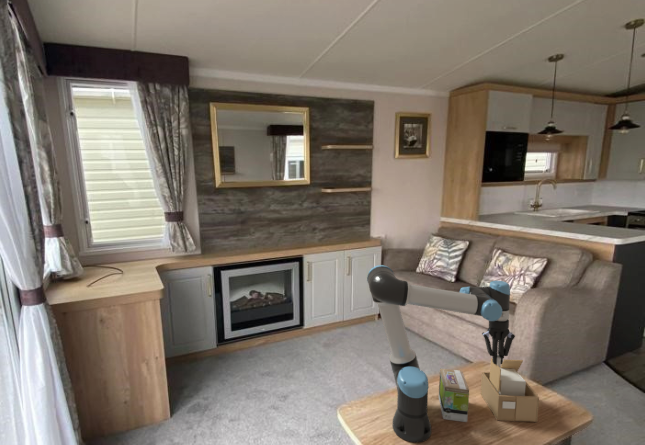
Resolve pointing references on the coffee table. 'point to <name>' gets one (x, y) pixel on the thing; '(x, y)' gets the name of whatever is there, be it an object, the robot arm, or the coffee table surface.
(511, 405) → the carton
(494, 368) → the flap left
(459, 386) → the tea box
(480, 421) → the coffee table surface
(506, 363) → the flap far
